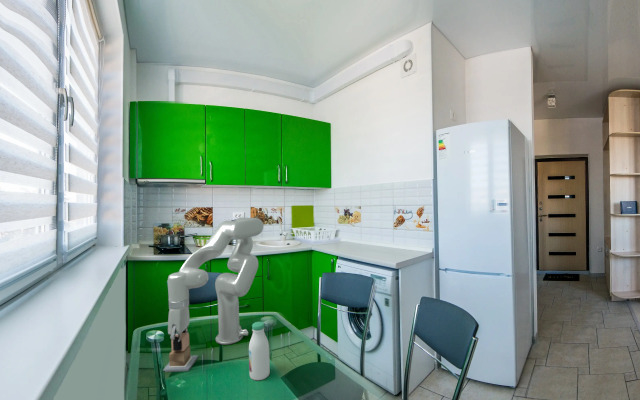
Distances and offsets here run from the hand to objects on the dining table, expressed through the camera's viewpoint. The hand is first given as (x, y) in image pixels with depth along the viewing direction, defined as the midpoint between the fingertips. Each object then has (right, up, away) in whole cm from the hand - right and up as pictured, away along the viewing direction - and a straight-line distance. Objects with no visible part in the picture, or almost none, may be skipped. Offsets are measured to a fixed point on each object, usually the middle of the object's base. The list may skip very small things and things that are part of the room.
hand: (180, 346), depth 125 cm
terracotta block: (0, 0, 0) cm, 0 cm away
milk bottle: (+34, -7, -8) cm, 36 cm away
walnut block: (0, -7, 0) cm, 7 cm away
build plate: (0, -7, 0) cm, 7 cm away
